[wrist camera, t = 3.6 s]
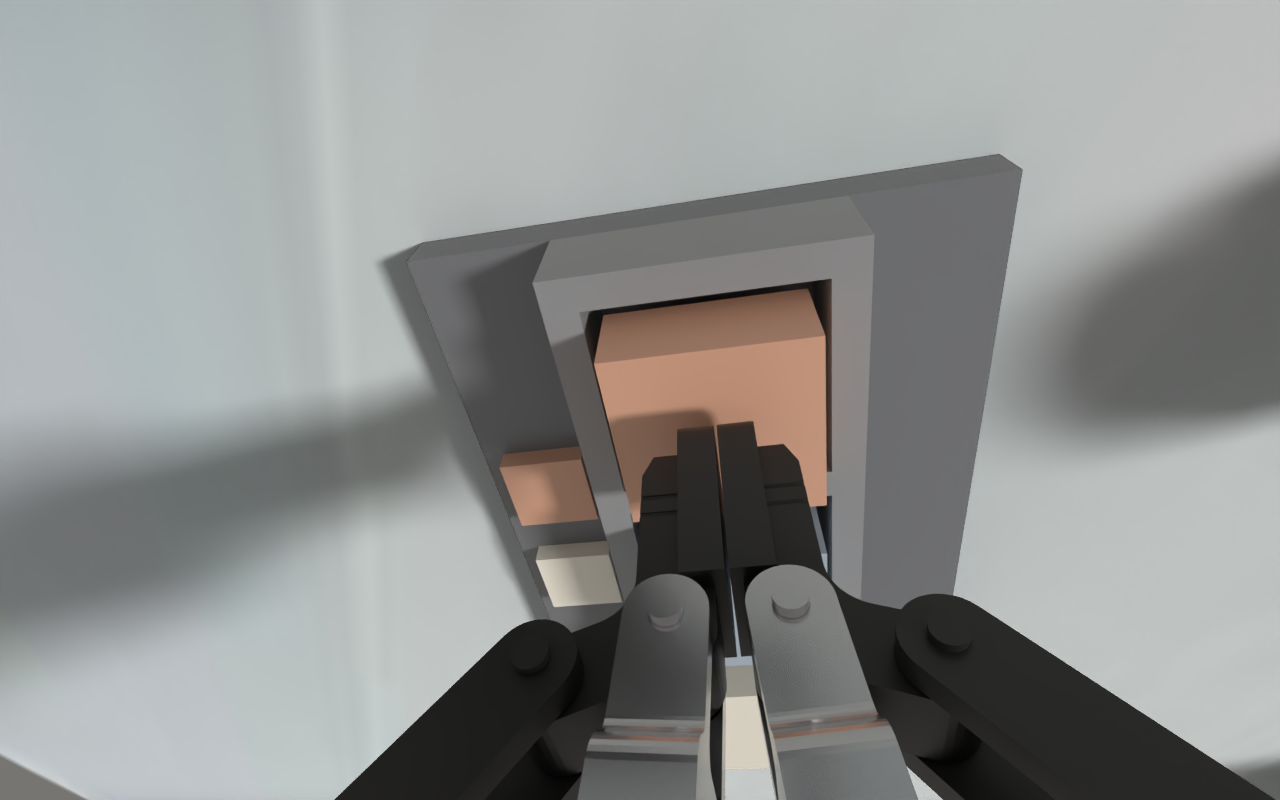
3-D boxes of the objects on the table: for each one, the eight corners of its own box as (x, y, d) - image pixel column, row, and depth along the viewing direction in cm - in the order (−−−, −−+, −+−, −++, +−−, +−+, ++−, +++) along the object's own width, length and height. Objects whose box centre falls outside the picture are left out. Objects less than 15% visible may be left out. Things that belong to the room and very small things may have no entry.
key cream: (816, 632, 20) (828, 692, 19) (818, 707, 23) (828, 766, 21) (677, 640, 21) (678, 699, 19) (694, 713, 24) (695, 770, 22)
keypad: (999, 154, 15) (1076, 206, 12) (930, 643, 25) (962, 733, 23) (422, 242, 17) (369, 305, 14) (582, 664, 27) (571, 748, 24)
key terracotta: (807, 288, 14) (825, 335, 12) (811, 447, 16) (826, 505, 15) (603, 314, 14) (594, 364, 13) (637, 465, 17) (633, 522, 15)
